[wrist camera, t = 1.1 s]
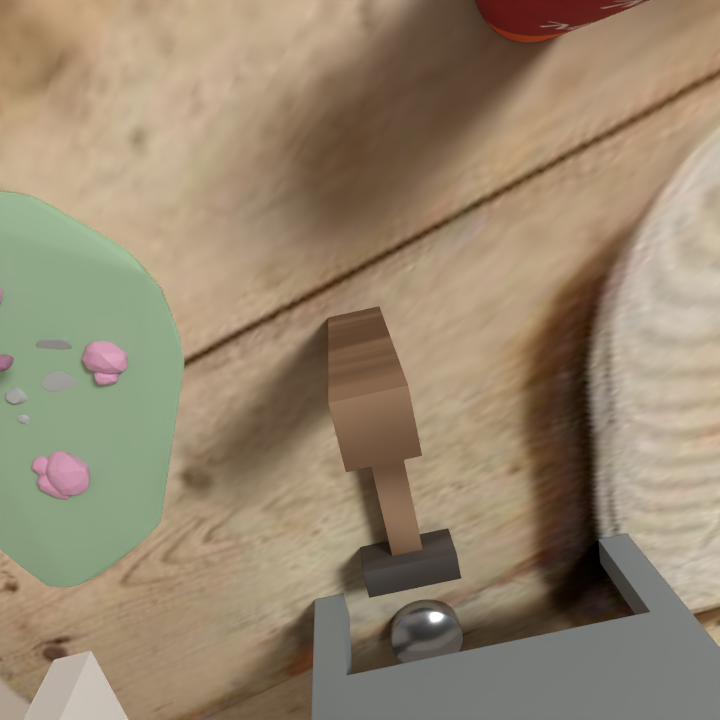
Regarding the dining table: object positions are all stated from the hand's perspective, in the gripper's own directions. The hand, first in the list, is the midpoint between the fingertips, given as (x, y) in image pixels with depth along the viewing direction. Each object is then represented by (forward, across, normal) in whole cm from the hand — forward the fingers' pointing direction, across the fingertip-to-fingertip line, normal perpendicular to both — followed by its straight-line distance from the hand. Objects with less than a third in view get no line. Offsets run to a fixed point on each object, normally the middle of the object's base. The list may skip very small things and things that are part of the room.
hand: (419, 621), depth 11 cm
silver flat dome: (+22, 0, +23) cm, 32 cm away
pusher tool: (+22, 0, +8) cm, 23 cm away
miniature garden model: (+23, +20, 0) cm, 30 cm away
